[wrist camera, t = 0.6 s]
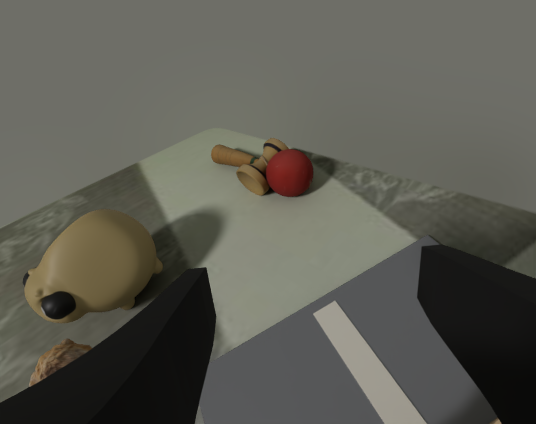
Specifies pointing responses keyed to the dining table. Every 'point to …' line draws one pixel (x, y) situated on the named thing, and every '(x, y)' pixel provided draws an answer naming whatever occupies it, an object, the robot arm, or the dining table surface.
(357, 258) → the dining table surface
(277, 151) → the kendama
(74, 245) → the beige frog figurine
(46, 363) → the lion figurine
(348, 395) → the card
